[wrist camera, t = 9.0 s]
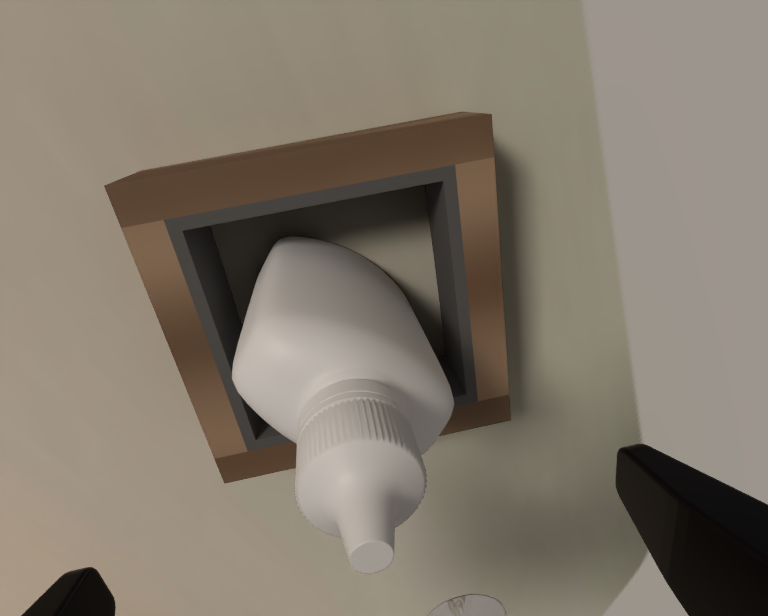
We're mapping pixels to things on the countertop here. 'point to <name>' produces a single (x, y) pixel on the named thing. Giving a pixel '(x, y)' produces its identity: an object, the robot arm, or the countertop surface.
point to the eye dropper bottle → (343, 390)
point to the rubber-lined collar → (303, 189)
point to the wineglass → (470, 607)
